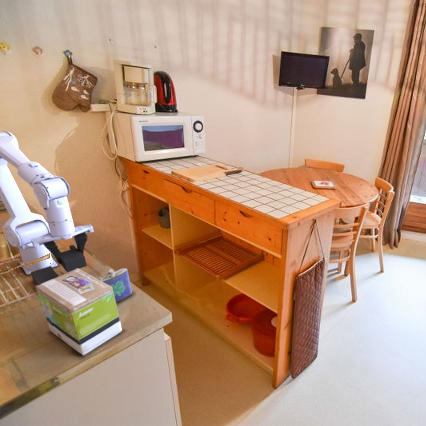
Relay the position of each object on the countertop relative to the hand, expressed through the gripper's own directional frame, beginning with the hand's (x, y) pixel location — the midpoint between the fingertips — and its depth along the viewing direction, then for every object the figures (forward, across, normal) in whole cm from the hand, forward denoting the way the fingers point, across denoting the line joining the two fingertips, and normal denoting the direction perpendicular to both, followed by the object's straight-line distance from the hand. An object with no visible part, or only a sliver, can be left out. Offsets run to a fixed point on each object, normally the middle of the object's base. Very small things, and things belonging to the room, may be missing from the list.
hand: (70, 259), depth 98 cm
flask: (+9, +5, -18) cm, 21 cm away
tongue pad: (+8, -6, +3) cm, 11 cm away
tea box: (+9, -5, -26) cm, 28 cm away
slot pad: (+1, 0, 0) cm, 1 cm away
